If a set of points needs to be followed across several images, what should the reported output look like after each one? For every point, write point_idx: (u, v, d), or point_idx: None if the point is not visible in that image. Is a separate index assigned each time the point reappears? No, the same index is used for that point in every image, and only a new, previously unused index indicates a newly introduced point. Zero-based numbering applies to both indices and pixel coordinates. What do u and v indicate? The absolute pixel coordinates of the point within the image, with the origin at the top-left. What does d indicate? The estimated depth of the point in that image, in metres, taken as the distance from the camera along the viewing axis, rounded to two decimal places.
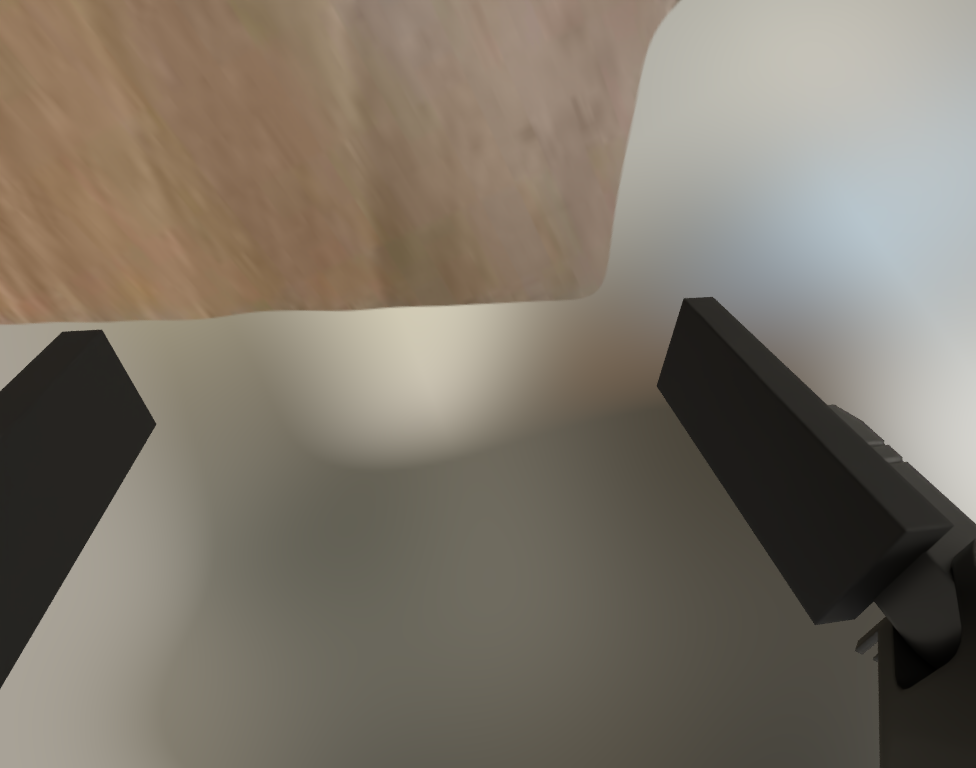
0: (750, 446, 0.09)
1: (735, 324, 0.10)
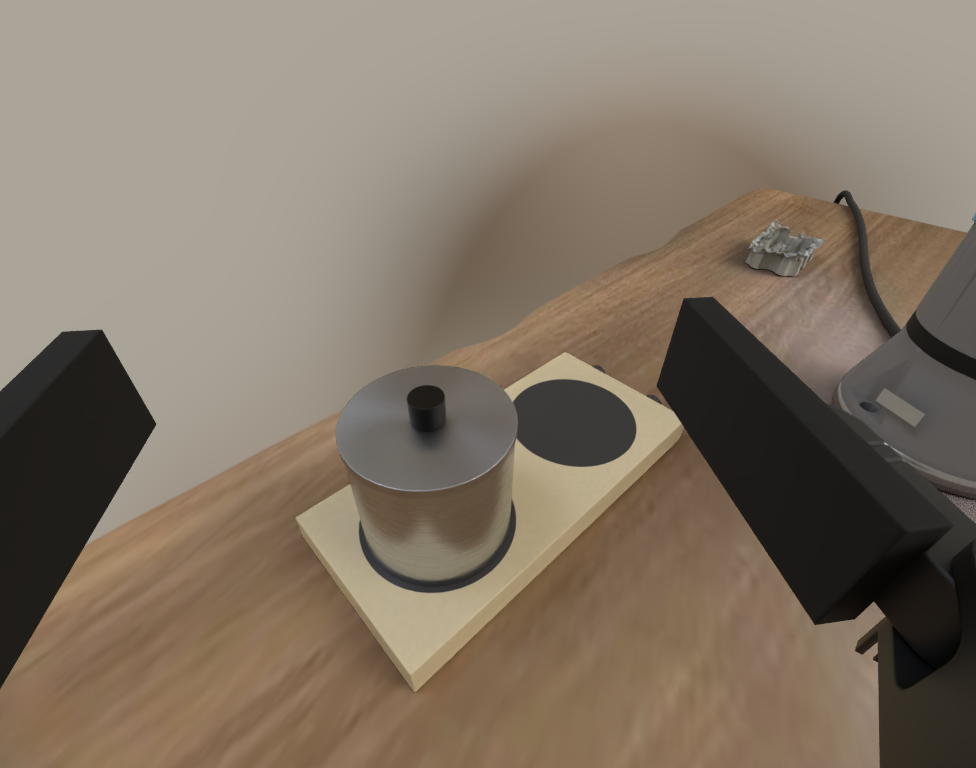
0: (751, 446, 0.09)
1: (735, 324, 0.10)
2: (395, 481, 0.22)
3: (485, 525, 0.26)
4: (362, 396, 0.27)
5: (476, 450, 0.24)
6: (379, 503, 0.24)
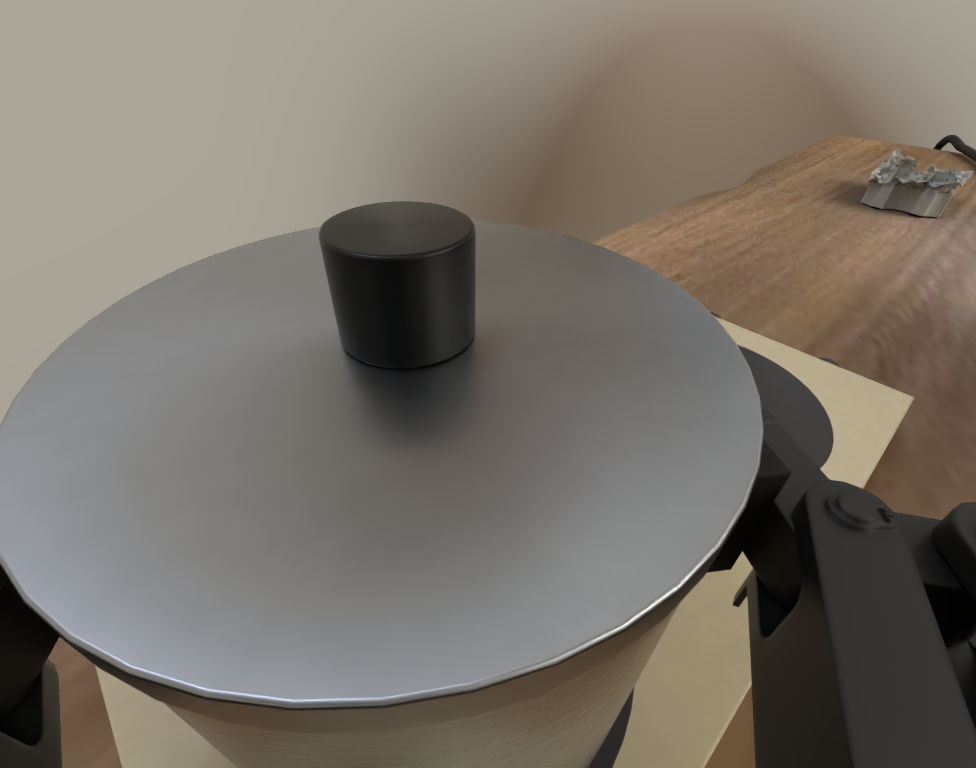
0: None
1: None
2: (192, 620, 0.04)
3: (610, 719, 0.07)
4: (202, 271, 0.09)
5: (619, 445, 0.05)
6: None
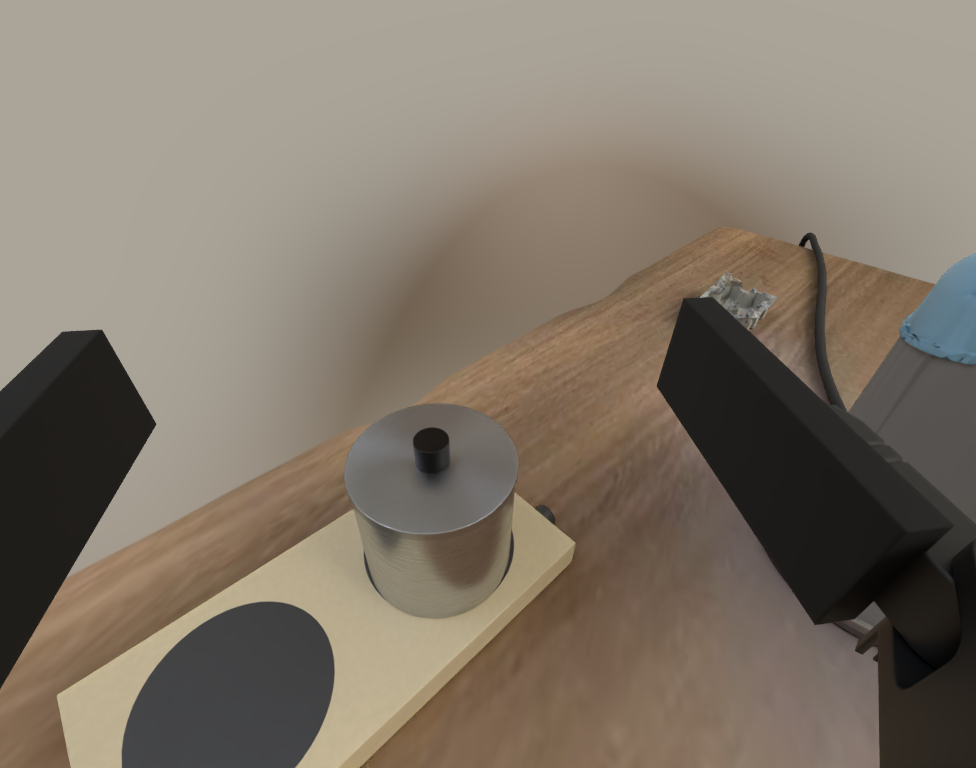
0: (750, 446, 0.09)
1: (735, 324, 0.10)
2: (395, 522, 0.24)
3: (481, 566, 0.27)
4: (373, 431, 0.29)
5: (475, 495, 0.25)
6: (379, 540, 0.25)
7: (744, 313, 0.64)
